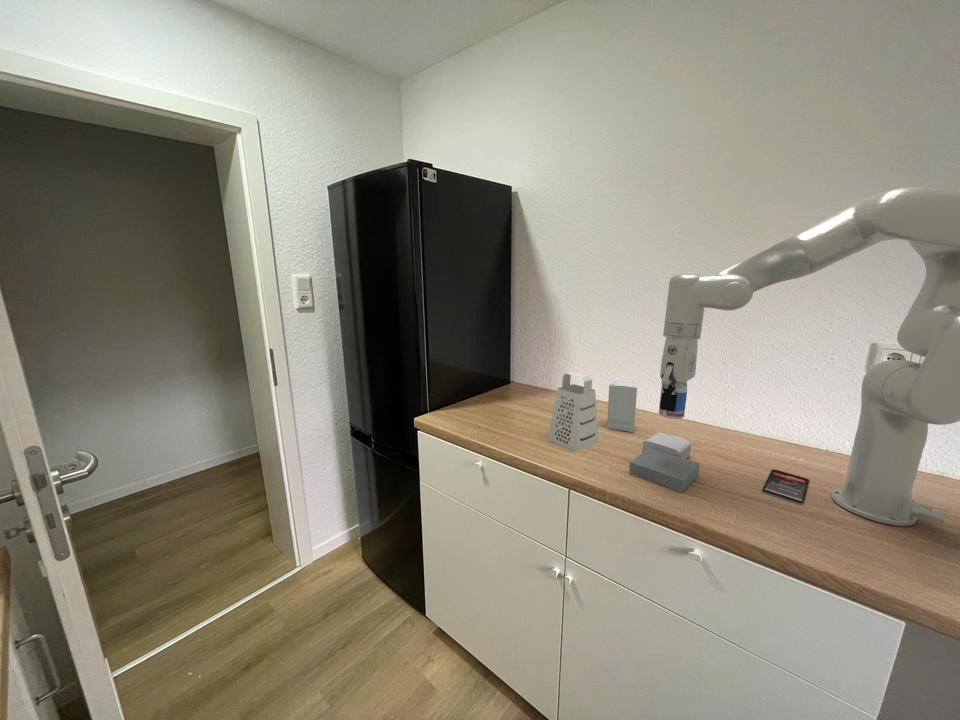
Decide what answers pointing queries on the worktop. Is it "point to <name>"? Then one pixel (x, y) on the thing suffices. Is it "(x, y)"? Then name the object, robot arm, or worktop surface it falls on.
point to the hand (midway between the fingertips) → (672, 406)
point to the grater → (575, 414)
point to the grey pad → (665, 469)
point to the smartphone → (786, 486)
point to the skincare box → (622, 405)
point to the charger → (668, 444)
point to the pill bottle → (680, 403)
